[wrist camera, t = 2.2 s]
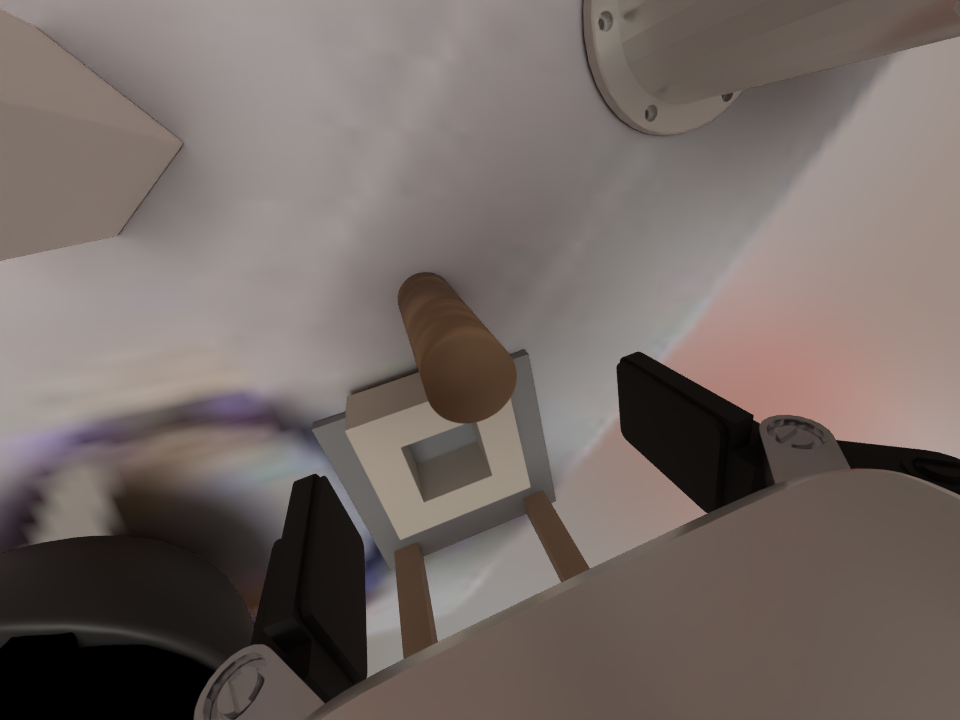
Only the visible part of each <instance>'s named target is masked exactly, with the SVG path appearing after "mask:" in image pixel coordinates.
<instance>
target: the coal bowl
mask: <svg viewBox="0 0 960 720" xmlns="http://www.w3.org/2000/svg"><path fill="white" fill-rule="evenodd" d="M253 630H254V625H253V622H252V619H251V616H250V613H249V611H248V609H247V607H246V605H245V603H244V601H243V599H242V597H241V596H240V594H239V593H238V591H237V590H236V589H235V587H234V586H233V585H232V583H231V582H230V581H229V580H228V579H227V578H226V576H225V575H224V574H222V573H221V572H220V571H219V570H218V569H217V568H215V567H214V566H213V565H212V564H211V563H209V562H208V561H206V560H205V559H203V558H201V557H200V556H198V555H196V554H194V553H192V552H190V551H187V550H185V549H183V548H181V547H178V546H175V545H172V544H169V543H165V542H162V541H158V540H153V539H147V538H140V537H130V536H87V537H77V538H69V539H63V540H57V541H50V542H44V543H39V544H35V545H30V546H26V547H22V548H19V549H15V550H11V551H8V552H4V553H1V554H0V720H194V713H195V708H196V705H197V702H198V700H199V697H200V694H201V693H202V691H203V689H204V687H205V686H206V684H207V682H208V681H209V679H210V678H211V677H212V676H213V674H214V673H215V672H216V671H217V669H218V668H219V667H220V666H221V665H222V664H223V663H224V662H225V661H226V660H228V659H229V658H230V657H231V656H232V655H234V654H235V653H237V652H238V651H240V650H242V649H243V648H246V647H249V646H250V643H251V639H252V634H253Z"/></svg>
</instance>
